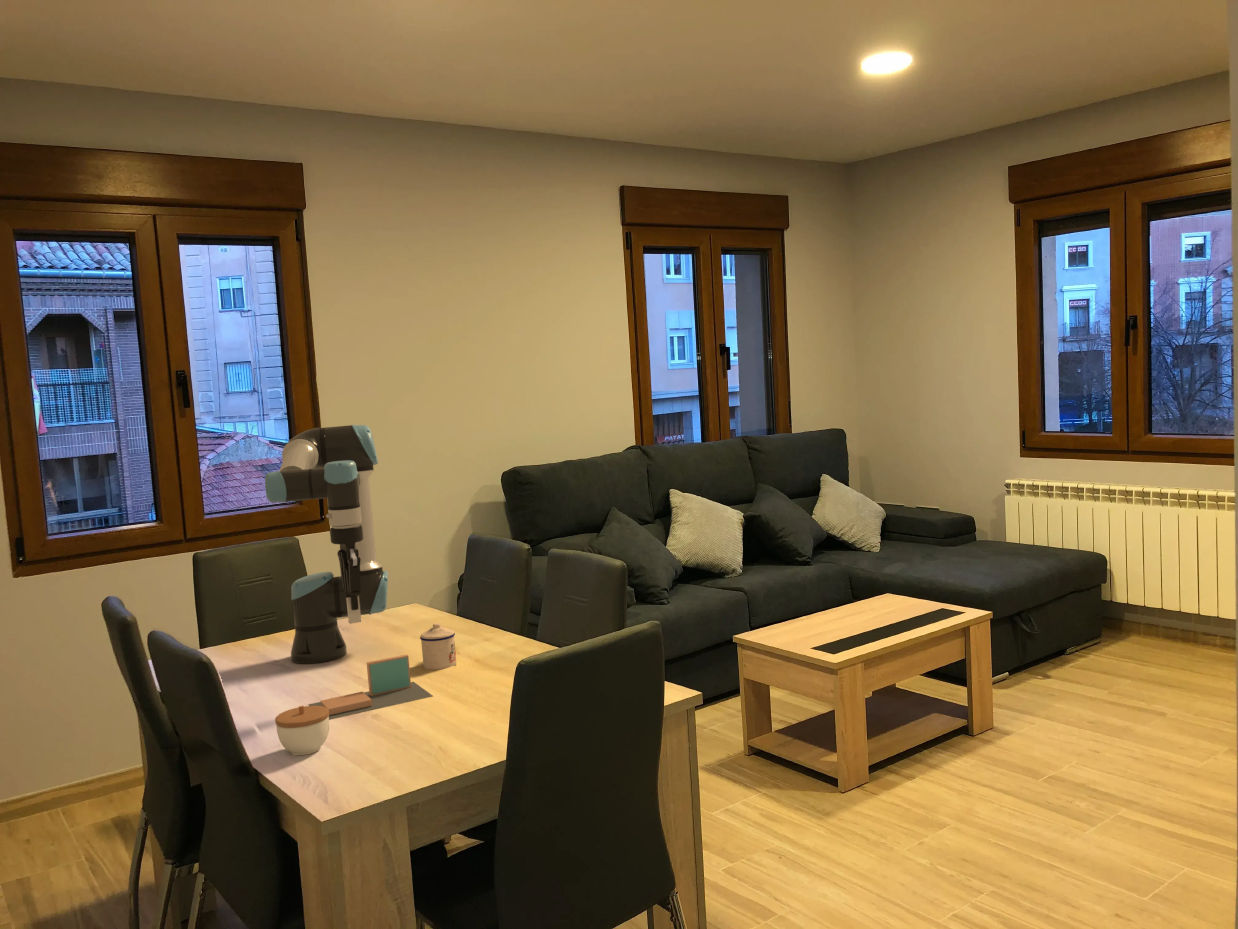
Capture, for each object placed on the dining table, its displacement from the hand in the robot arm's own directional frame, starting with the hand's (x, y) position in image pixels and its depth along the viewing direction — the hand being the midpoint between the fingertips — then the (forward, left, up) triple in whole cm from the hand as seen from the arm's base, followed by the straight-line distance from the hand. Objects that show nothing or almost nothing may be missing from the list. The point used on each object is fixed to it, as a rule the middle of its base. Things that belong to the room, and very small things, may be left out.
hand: (354, 622), depth 240 cm
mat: (+5, +1, -19) cm, 19 cm away
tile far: (+1, +7, -18) cm, 19 cm away
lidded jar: (+27, -19, -19) cm, 38 cm away
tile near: (+2, -5, -17) cm, 18 cm away
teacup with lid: (-14, +25, -19) cm, 34 cm away
